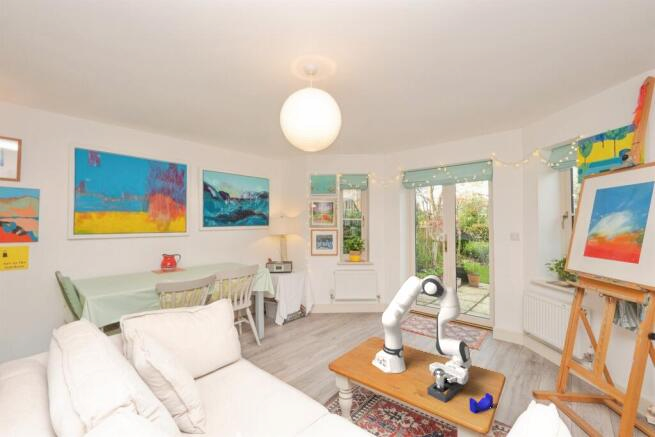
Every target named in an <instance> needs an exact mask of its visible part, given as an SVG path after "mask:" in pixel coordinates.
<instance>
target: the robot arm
mask: <svg viewBox="0 0 655 437" xmlns="http://www.w3.org/2000/svg"><path fill="white" fill-rule="evenodd" d="M442 281H443V280H442V279H441V278H440V276H438V275H437V274H432V273H431V274H427V275H426V276H423V277H422V278H420V277H418V276H415V275H413V276H412V275H411V276H410V277H409V278H408V279H406V281H405V282H404V283H403V285H402V286H401V288H400V289H399V290H398V292H397V293H396V294H395V296H394V298H393V299H392V300H391V302H390V304H389V305H388V306H387V307H386V308H385V310H384V312H383V313H382V316H381V323H382V326H383V332H384V344H382V345H381V348H382V349H381V350H379V351H378V352H377V353H376V354H375V358H374V359H372V362H371V365H373V366H375V367H376V368H377V369H378V370H381V371H382V372H383V373H386V374H390V373H391V374H392V373H393V374H400V373H403V372H405V371H406V369H407V367H406V363H405V359H404V345H403V333H402V328H401V320H402V318H403V317H404V316H405V314H406V313H407V312H408V311H409V309H410V308H411V306H413V304H414V302H415V301H416V300H417V298H418V297H419V296H420V294H421V293H422V292H423V293H424V294H425V295H427V296H429V297H433V298H438V301H439V306H440V310H439V312H438V313H437V315H436V341H435V349H436V351H437V352H438V353H439V355H441V356H448V357H451V359H450V360H448V361H446V362H445V363H442V362H440V361H439V362H438V361H435V362H433V363H430V364H428V365H429V366H428V367H429V372H431V376H433V377H436V373H435V369H437V368H440V369H443V370H444V371H445V374H444V377H445V378H448V382H449V383H451V382H457V383H460V384H462V385H465V384H466V383H467V382H468V381H469V376H470V375H469V369H470V368H471V366H472V363H473V362H472V358H471V354H470V348H469V346H468V345H467V343H466V342H465V341H463V340H458V339H452V338H448V337H447V336H446V324H447V323H448V322H452V321H455V320H456V319H458V318H459V317H460V315H461V312H462V310H461V305H460V304H461V303H460V298H459V296H458V293H457V290H456V289H455V288H454V286H451V285H444V284H443V282H442Z"/></svg>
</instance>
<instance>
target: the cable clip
mask: <svg viewBox="0 0 655 437" xmlns="http://www.w3.org/2000/svg"><path fill="white" fill-rule="evenodd" d="M484 395H485V396H484V397H481V399H480V400H479V401H477V400H476V399H474V398H473V397H470V398H469V399H468V400H469V411H470V412H471V413H473V414H474V415H475V414H478V413H479V414H480V413H482V412H485V411H488V409H489V410H491V409H490V407H491V408H492V409H494V396H493V395H492V394H490V393H488V392H486V393H485V394H484Z"/></svg>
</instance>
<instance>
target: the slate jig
mask: <svg viewBox="0 0 655 437" xmlns="http://www.w3.org/2000/svg"><path fill="white" fill-rule="evenodd" d="M444 389H445V392H443V393H442V392H440V391H437V390H436V381H434V382H433V383H432V384H430V385H429V386H428V387H427V391H426V392H427V395H428V396H430V397H432V398H434V399H437V400H438V401H441V402H442V403H446V402H448V401H449V400H450V399H451V398H453V397H454V396H455V395H456V394H457V393H459V392H460V391H461V390H462V389H463V384H460V383H457V382H451V383H449V382H448V378H445V377H444Z"/></svg>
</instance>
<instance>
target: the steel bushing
mask: <svg viewBox="0 0 655 437" xmlns="http://www.w3.org/2000/svg"><path fill="white" fill-rule="evenodd" d="M435 373H436V375H435V382H436V390H437V391H440V392H442V393H443V392H445V389H444V374H445V371H444V370H443V369H440V368H437V369H435Z"/></svg>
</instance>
